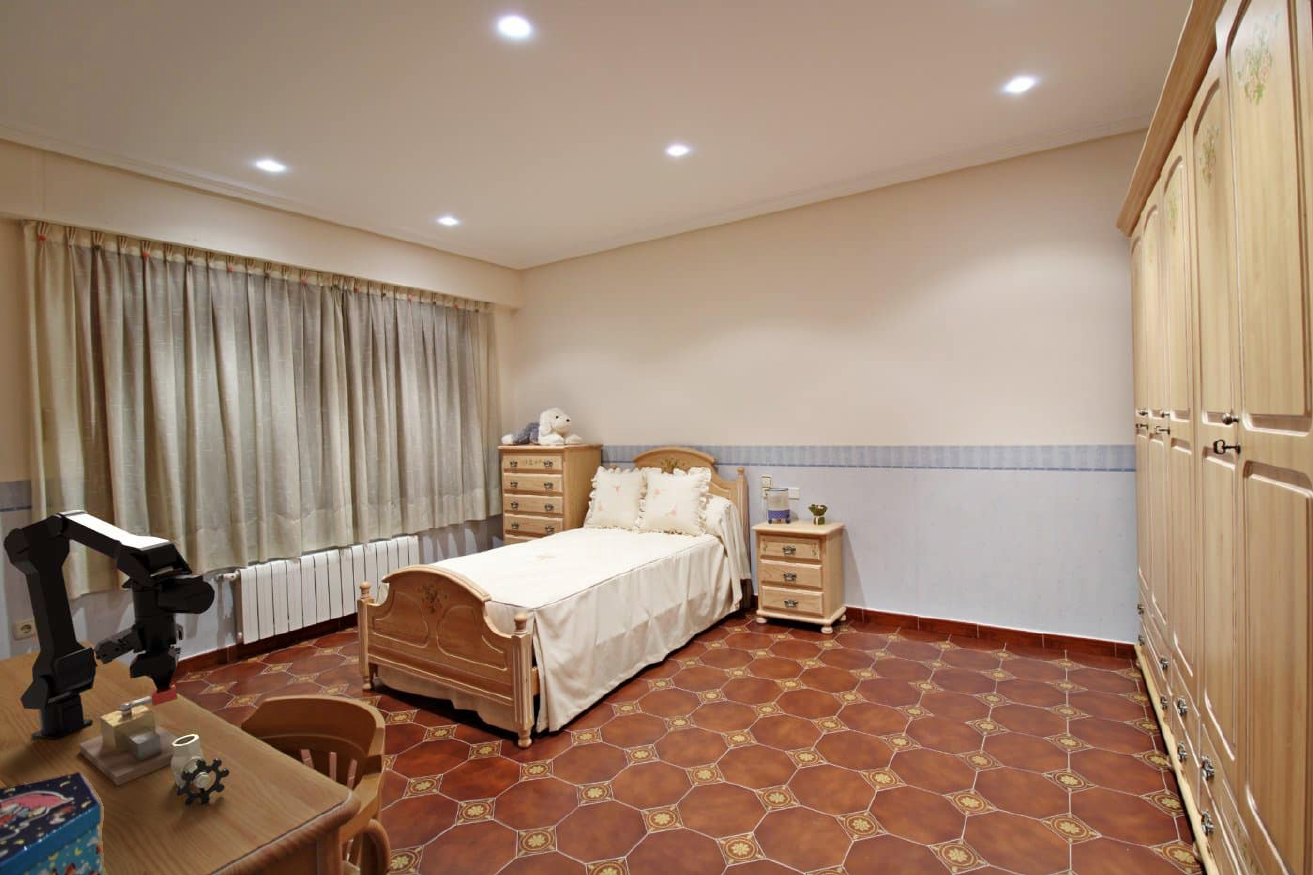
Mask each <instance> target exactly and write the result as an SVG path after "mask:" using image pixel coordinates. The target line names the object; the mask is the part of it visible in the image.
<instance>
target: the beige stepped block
mask: <svg viewBox="0 0 1313 875" xmlns="http://www.w3.org/2000/svg"><path fill="white" fill-rule="evenodd" d="M155 719H156V718H155V712H154V711H153V710H152V709H150V708H148V707H146V706H145V705H141V706H138V707H134V708H131V709H129V710H125V711H119V709H118V710H116V711H113V712H110V713H107V714H104V715H102V716H100V717H99V720H100V729H101V735H102V739H103V745H104V746H106V747H107V748H108V749H109V750H111V751H112V752H113V753H114V754H116V755H118V754H121V753H124V752H126V751H127V752H128V753H129V754H131V755H132V756H133V757H134V758H136V759H137V760H138V761H142V760H145V759H147V758H150V757H152V756H154V755H157V754H159V753H162V751H161V741H160V735H159V734H157V733H156V727H155V723H156V720H155Z"/></svg>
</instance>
